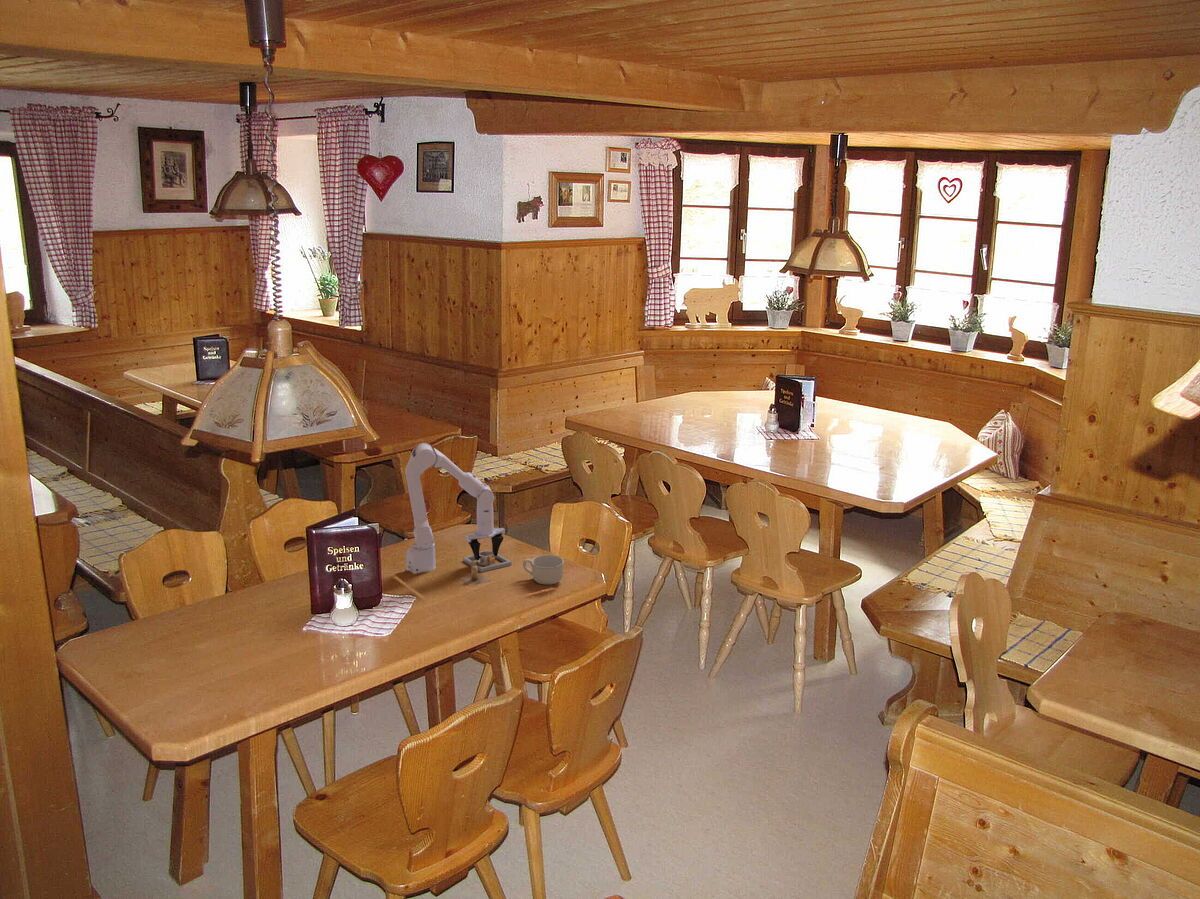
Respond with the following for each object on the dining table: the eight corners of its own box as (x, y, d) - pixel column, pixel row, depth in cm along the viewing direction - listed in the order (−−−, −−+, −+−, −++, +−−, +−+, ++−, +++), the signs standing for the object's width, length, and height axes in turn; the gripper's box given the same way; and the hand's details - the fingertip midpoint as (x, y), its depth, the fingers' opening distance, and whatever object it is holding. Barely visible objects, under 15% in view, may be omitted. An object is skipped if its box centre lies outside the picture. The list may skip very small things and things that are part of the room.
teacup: (569, 579, 333) (569, 557, 331) (554, 591, 324) (554, 568, 322) (533, 572, 339) (532, 551, 337) (517, 583, 329) (517, 561, 327)
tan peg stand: (469, 588, 325) (469, 573, 324) (458, 580, 332) (458, 565, 330) (491, 582, 330) (490, 568, 329) (479, 575, 336) (479, 560, 335)
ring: (485, 568, 341) (485, 559, 340) (475, 562, 347) (475, 552, 346) (499, 565, 344) (499, 555, 343) (489, 558, 350) (489, 549, 349)
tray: (481, 574, 337) (481, 568, 337) (463, 562, 347) (463, 557, 347) (511, 567, 344) (511, 561, 343) (493, 555, 354) (492, 550, 354)
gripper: (472, 527, 335) (473, 565, 338) (509, 519, 343) (509, 556, 347) (462, 521, 340) (463, 558, 344) (498, 514, 349) (499, 550, 352)
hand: (486, 557), depth 346 cm, fingers open, 7 cm apart
